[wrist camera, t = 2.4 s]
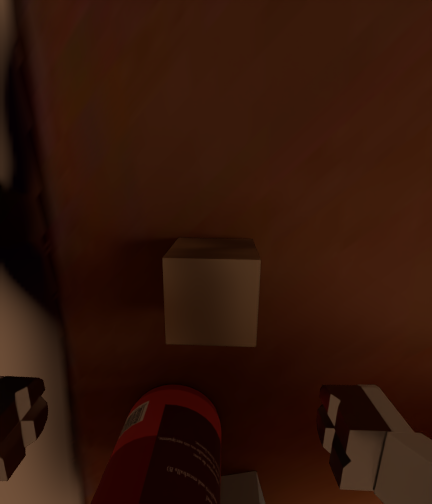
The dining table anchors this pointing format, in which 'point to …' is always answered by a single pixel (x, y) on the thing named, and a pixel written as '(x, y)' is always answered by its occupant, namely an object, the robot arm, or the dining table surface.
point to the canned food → (166, 452)
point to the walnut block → (211, 292)
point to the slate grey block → (241, 489)
